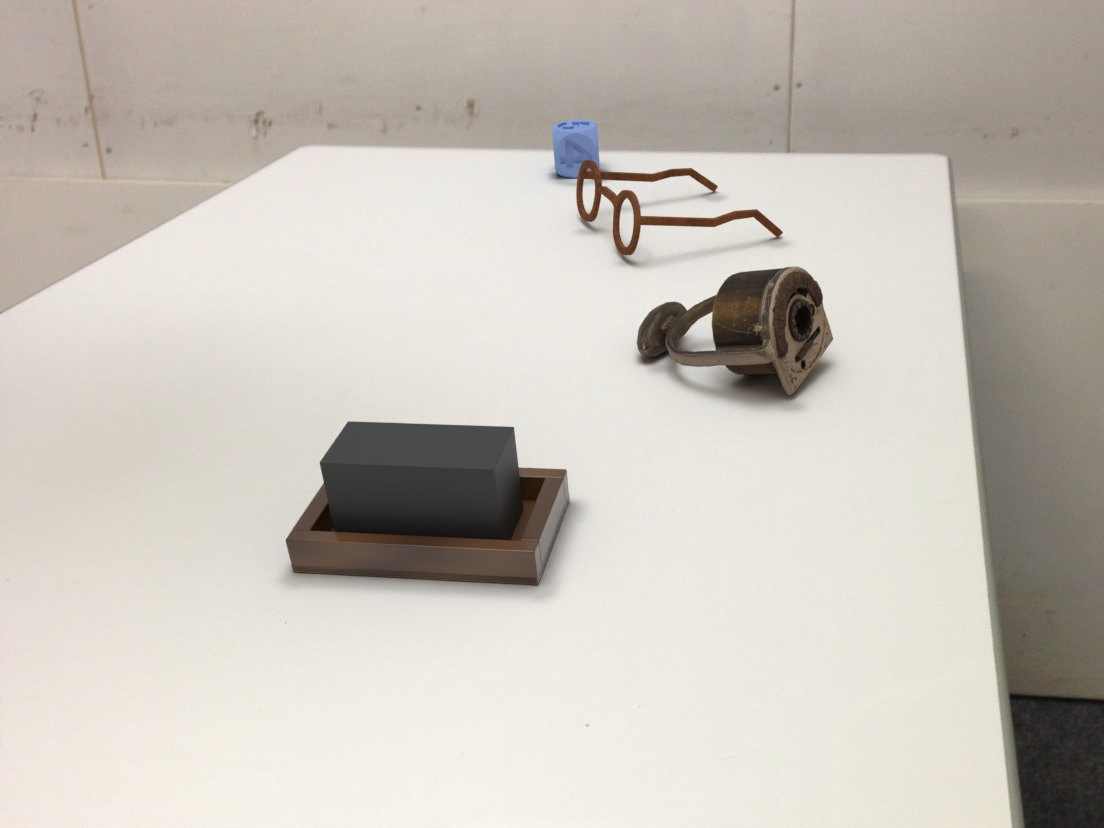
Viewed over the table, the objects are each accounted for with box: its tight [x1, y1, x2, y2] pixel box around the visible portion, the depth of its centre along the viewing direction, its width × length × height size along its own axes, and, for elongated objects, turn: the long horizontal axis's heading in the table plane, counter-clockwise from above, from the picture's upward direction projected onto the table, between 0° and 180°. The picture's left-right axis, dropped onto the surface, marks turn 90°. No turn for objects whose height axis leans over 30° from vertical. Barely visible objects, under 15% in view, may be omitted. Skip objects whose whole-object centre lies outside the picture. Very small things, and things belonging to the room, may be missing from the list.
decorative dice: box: [551, 118, 601, 179], centre depth 115 cm, size 4×4×4 cm
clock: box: [319, 421, 523, 540], centre depth 67 cm, size 9×4×5 cm, turn 81°
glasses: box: [575, 160, 784, 256], centre depth 102 cm, size 13×13×5 cm
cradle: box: [285, 467, 570, 586], centre depth 68 cm, size 13×8×2 cm, turn 81°
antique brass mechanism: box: [636, 266, 834, 396], centre depth 81 cm, size 7×13×10 cm
